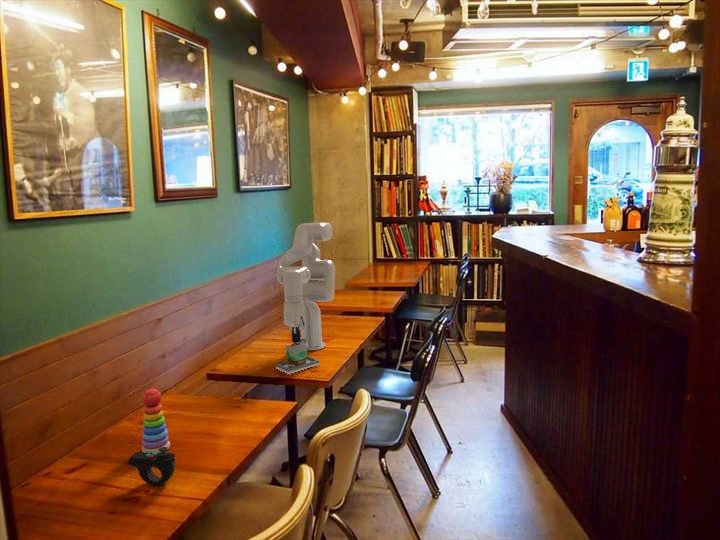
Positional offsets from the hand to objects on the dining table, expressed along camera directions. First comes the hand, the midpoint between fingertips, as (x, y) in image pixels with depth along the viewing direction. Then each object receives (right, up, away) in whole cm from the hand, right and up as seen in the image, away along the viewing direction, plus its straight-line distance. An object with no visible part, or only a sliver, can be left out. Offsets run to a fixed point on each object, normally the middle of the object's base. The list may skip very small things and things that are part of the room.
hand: (296, 341), depth 231 cm
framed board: (0, -11, +2) cm, 11 cm away
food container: (+2, -10, +1) cm, 10 cm away
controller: (-27, -26, -86) cm, 94 cm away
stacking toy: (-34, -24, -67) cm, 79 cm away
